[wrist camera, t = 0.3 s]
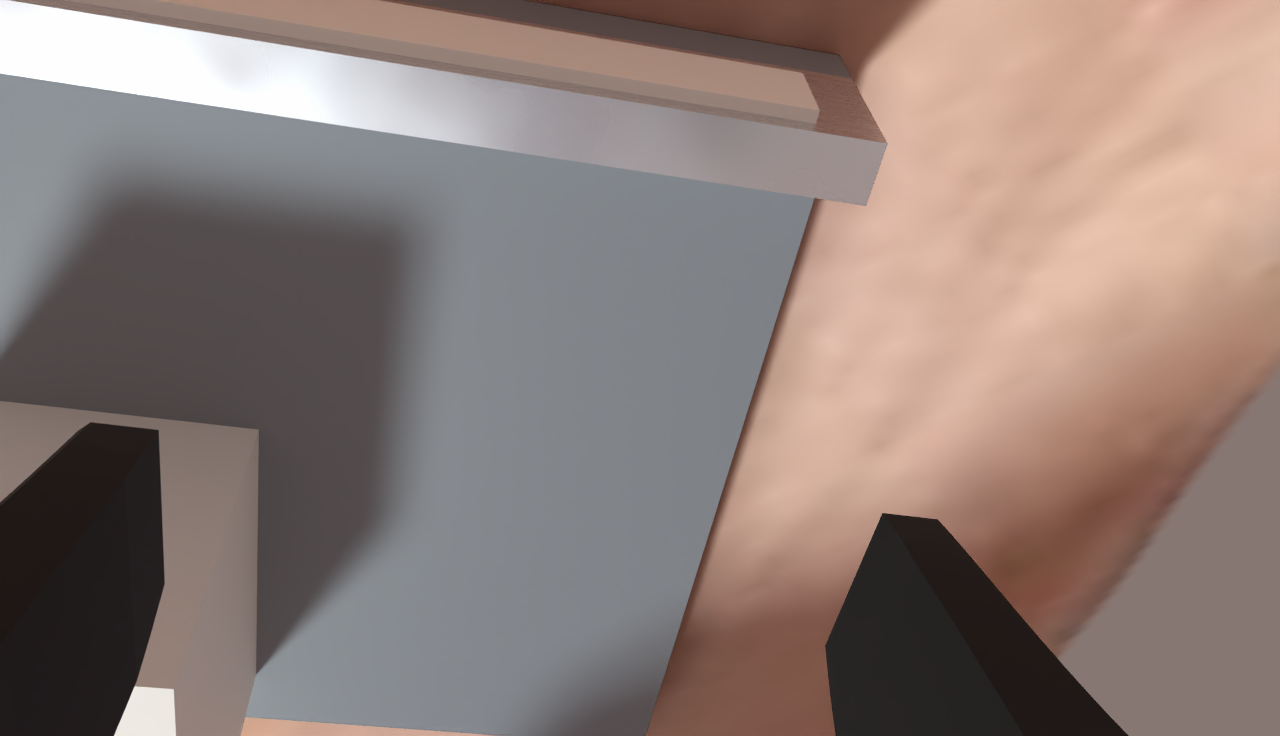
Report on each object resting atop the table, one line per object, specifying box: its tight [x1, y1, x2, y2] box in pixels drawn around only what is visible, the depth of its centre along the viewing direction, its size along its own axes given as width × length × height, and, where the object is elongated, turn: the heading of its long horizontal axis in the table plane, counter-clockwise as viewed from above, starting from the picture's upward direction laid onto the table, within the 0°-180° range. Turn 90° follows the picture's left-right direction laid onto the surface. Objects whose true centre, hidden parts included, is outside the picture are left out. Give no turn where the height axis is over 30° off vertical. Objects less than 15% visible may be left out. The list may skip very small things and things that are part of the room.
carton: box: [0, 401, 259, 736], centre depth 21 cm, size 5×7×6 cm
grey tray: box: [0, 0, 887, 736], centre depth 21 cm, size 17×17×3 cm
